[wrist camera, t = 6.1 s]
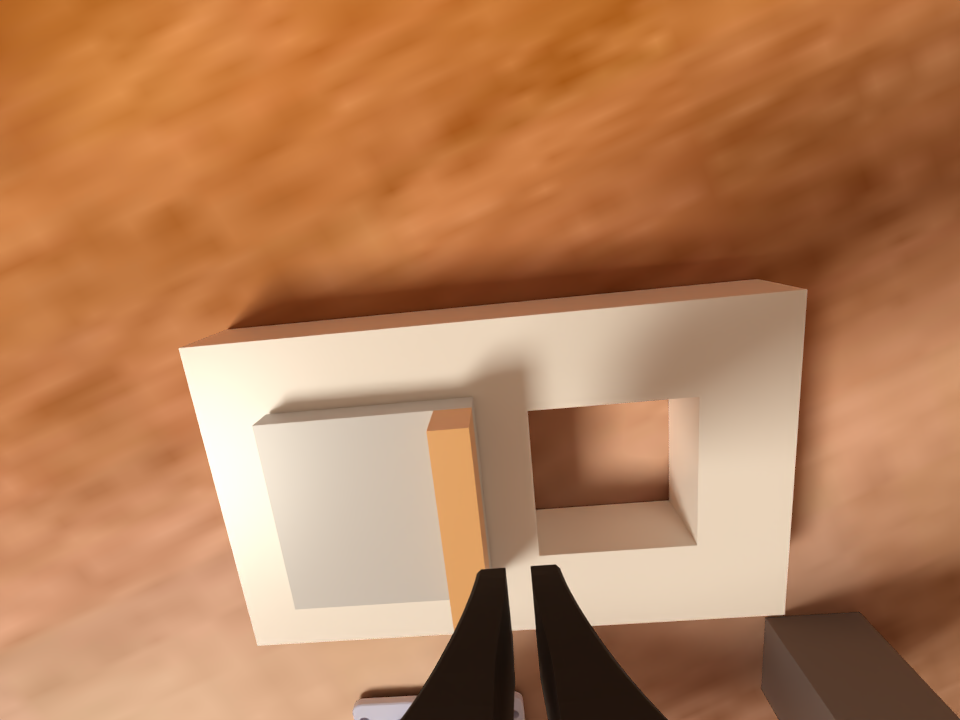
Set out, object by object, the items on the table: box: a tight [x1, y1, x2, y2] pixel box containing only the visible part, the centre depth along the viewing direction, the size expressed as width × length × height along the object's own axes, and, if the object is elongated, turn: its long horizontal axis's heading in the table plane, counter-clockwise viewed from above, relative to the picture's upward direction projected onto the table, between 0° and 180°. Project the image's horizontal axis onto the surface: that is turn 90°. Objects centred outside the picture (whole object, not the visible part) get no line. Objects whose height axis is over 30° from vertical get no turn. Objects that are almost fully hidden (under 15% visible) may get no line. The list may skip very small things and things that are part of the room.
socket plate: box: [179, 279, 808, 646], centre depth 19 cm, size 12×20×3 cm, turn 96°
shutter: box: [252, 397, 492, 631], centre depth 16 cm, size 7×7×3 cm
